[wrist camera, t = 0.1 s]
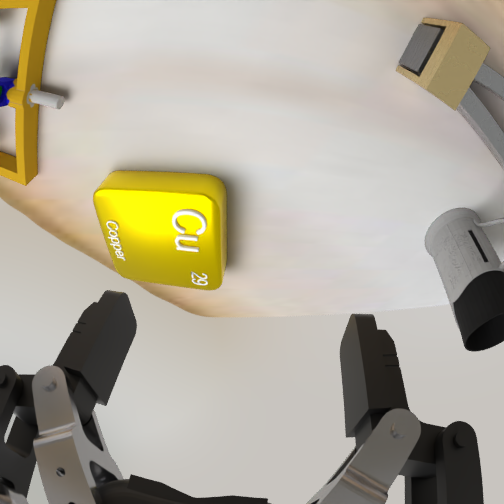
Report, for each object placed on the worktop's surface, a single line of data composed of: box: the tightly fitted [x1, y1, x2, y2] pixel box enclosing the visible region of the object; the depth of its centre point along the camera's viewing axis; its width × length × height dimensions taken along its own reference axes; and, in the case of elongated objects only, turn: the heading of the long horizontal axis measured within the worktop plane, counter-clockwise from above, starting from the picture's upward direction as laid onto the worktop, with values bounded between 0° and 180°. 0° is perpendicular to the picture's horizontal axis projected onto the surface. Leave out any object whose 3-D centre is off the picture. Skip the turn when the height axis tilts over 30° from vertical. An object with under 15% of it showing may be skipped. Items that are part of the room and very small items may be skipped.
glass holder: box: [425, 208, 504, 351], centre depth 26 cm, size 9×14×15 cm, turn 169°
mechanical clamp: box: [0, 0, 64, 186], centre depth 23 cm, size 18×6×30 cm
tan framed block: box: [396, 18, 490, 110], centre depth 17 cm, size 3×6×7 cm, turn 161°
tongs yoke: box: [399, 25, 444, 76], centre depth 18 cm, size 3×5×5 cm, turn 160°
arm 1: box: [457, 87, 504, 169], centre depth 22 cm, size 20×2×4 cm, turn 61°
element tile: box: [93, 171, 227, 290], centre depth 36 cm, size 15×15×5 cm
